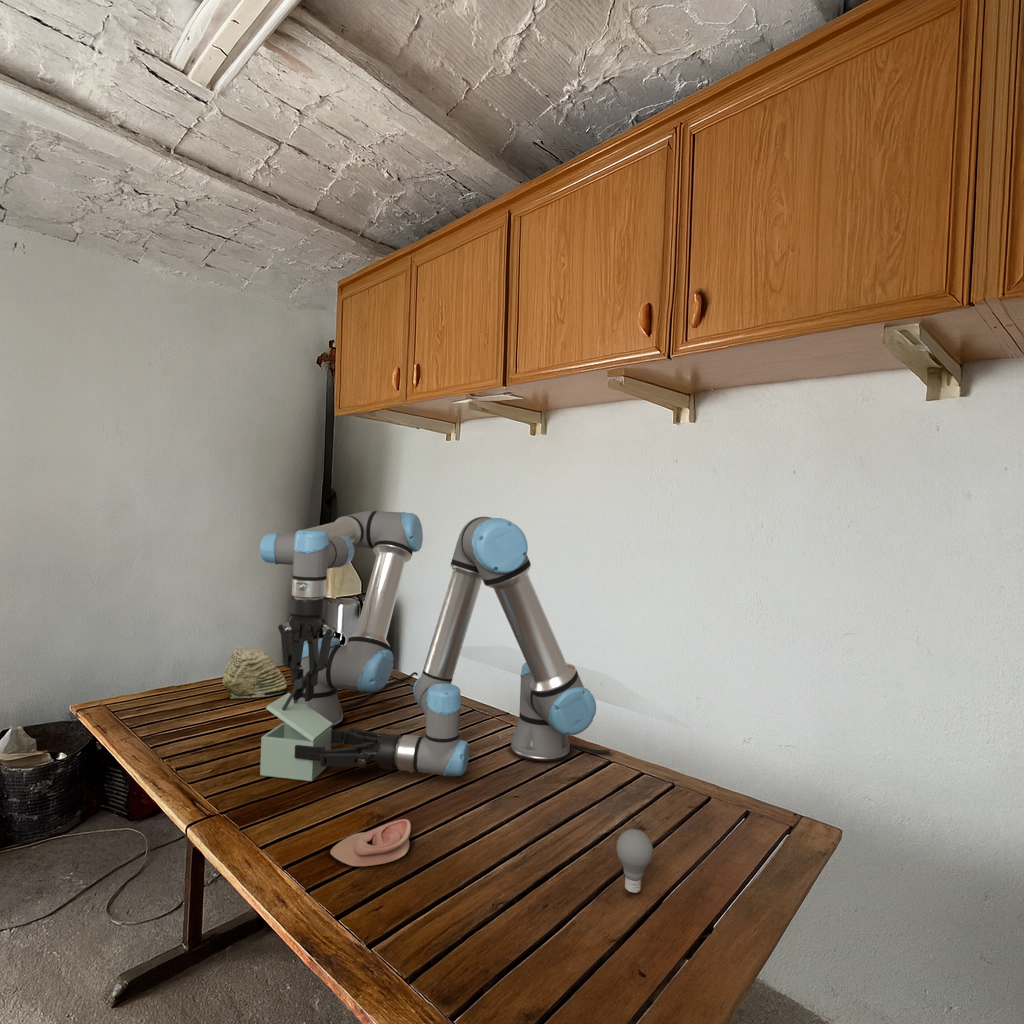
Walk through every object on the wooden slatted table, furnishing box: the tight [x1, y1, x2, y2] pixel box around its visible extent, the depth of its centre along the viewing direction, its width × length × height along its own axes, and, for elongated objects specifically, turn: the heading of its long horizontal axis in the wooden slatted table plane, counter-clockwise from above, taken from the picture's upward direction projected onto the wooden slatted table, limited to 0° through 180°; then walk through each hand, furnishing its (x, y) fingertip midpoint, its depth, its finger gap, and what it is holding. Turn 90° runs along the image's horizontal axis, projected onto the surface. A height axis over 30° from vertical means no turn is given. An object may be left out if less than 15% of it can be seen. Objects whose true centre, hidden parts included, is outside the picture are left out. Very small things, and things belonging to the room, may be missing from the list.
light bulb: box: [615, 828, 654, 894], centre depth 106 cm, size 6×6×10 cm
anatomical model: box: [329, 818, 412, 867], centre depth 114 cm, size 13×4×12 cm
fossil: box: [222, 646, 288, 699], centre depth 198 cm, size 9×18×15 cm, turn 132°
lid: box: [265, 675, 333, 742], centre depth 146 cm, size 13×10×9 cm
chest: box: [259, 722, 333, 782], centre depth 146 cm, size 12×10×9 cm
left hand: (303, 698), depth 146 cm, fingers closed on lid, 2 cm apart
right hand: (306, 742), depth 146 cm, fingers closed on chest, 10 cm apart
